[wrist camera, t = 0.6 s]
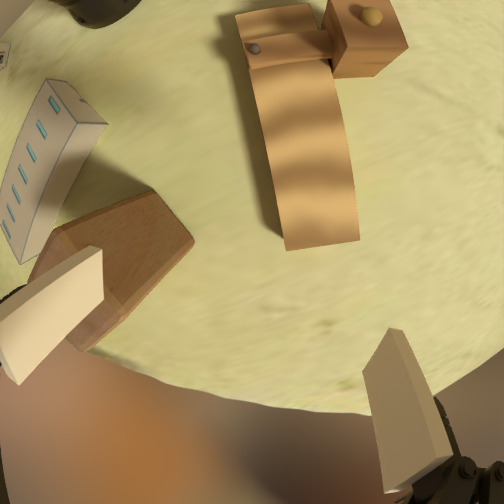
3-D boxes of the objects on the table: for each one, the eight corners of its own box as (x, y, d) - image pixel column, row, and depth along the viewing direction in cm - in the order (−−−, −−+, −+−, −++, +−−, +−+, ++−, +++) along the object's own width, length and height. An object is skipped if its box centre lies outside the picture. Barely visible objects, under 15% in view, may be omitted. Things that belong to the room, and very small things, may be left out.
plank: (240, 27, 27) (234, 15, 23) (307, 16, 25) (309, 3, 21) (286, 240, 36) (285, 251, 33) (353, 230, 35) (360, 240, 31)
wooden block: (155, 186, 36) (49, 225, 18) (199, 240, 38) (124, 321, 19) (116, 229, 39) (22, 284, 21) (156, 277, 41) (80, 358, 23)
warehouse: (68, 81, 32) (37, 77, 25) (110, 124, 34) (77, 122, 27) (13, 205, 42) (-12, 215, 35) (45, 251, 44) (20, 265, 37)
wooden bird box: (249, 50, 28) (227, 3, 16) (361, 37, 25) (391, -8, 13) (259, 89, 30) (240, 56, 18) (373, 76, 27) (413, 43, 15)
